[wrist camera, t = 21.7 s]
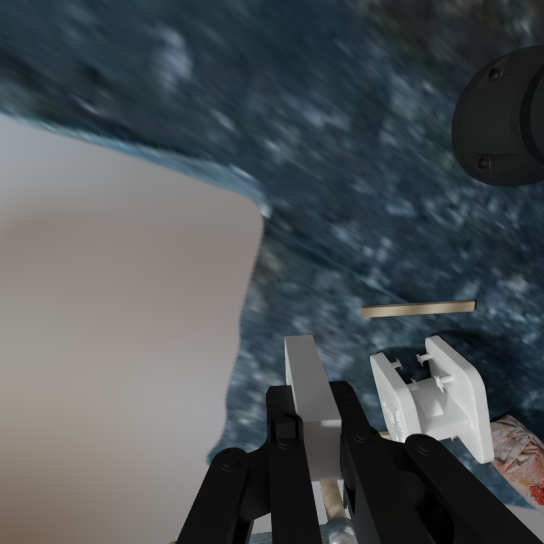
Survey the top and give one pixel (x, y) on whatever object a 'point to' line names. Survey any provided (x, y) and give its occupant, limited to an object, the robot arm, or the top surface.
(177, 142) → the top surface
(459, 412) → the cable organizer
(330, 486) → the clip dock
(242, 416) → the top surface
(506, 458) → the food item
